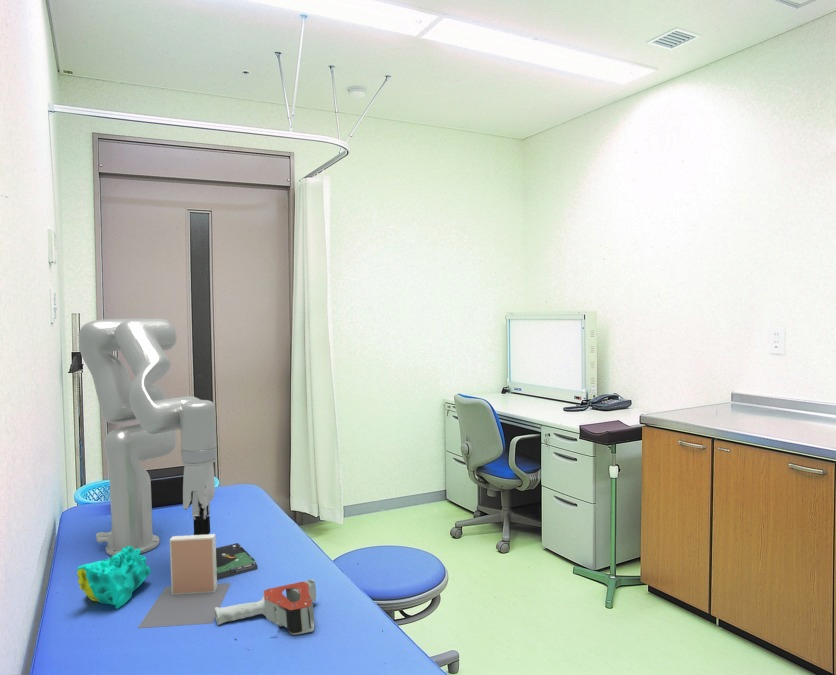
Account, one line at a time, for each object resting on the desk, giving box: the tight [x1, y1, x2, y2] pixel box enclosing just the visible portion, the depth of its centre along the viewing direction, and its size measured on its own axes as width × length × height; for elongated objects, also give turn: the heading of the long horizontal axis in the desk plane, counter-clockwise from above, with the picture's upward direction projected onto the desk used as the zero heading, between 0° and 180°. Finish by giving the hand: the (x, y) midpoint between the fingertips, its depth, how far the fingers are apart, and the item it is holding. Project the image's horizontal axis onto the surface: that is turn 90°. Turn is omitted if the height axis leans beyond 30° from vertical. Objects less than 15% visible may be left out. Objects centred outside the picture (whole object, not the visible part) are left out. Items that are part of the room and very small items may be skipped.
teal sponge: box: [76, 546, 152, 610], centre depth 128 cm, size 15×12×13 cm
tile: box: [169, 533, 218, 595], centre depth 129 cm, size 9×2×12 cm, turn 96°
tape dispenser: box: [214, 579, 317, 636], centre depth 119 cm, size 18×5×20 cm
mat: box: [137, 582, 231, 629], centre depth 124 cm, size 14×17×1 cm
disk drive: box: [216, 542, 258, 581], centre depth 143 cm, size 10×3×15 cm
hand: (202, 534), depth 136 cm, fingers closed
